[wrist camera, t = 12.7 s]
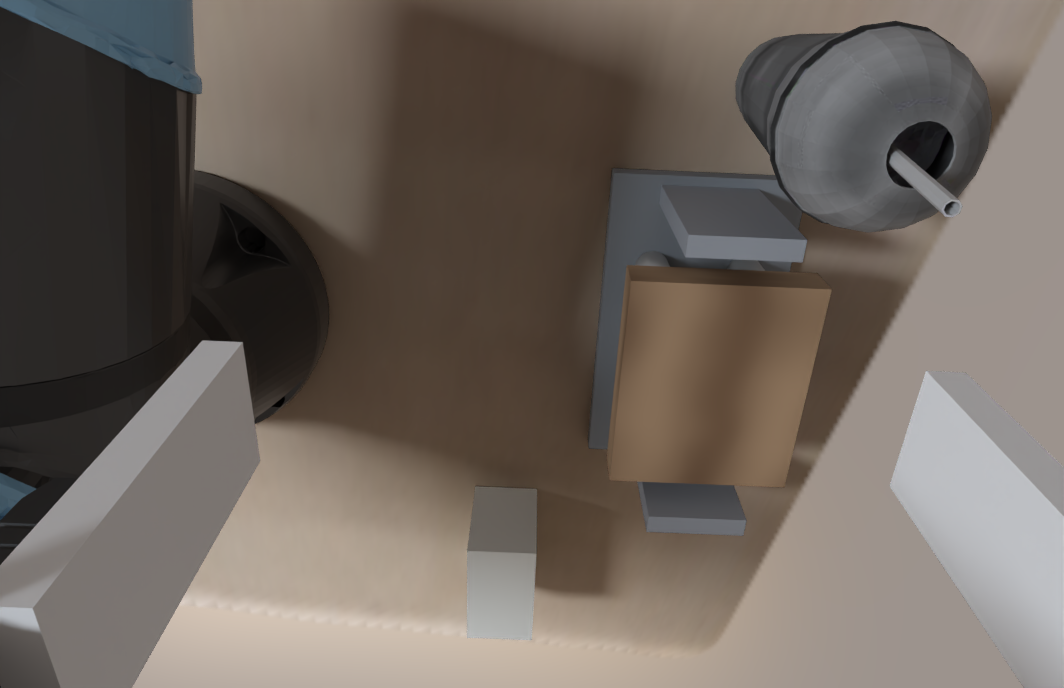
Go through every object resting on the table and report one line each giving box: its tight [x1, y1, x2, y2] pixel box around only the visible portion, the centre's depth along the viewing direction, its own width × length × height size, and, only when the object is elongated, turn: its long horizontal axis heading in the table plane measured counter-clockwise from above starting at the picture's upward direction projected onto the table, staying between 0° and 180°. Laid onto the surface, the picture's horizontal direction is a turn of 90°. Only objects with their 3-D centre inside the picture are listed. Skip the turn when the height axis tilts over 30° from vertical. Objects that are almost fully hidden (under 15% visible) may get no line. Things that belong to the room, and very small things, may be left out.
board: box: [607, 265, 832, 487], centre depth 37 cm, size 9×11×2 cm
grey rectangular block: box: [467, 486, 537, 640], centre depth 48 cm, size 4×7×6 cm, turn 178°
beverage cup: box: [736, 21, 992, 232], centre depth 28 cm, size 7×7×20 cm
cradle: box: [588, 168, 807, 536], centre depth 39 cm, size 10×17×9 cm, turn 178°
